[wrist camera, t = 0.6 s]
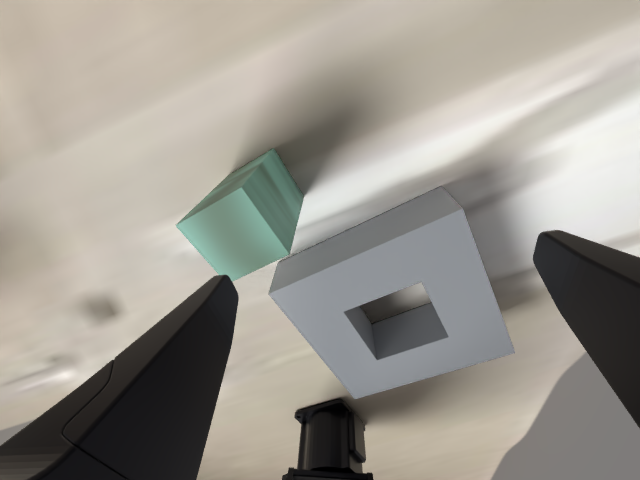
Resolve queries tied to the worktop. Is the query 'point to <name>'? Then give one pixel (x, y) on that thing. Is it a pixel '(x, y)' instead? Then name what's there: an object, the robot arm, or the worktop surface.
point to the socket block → (388, 277)
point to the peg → (246, 218)
